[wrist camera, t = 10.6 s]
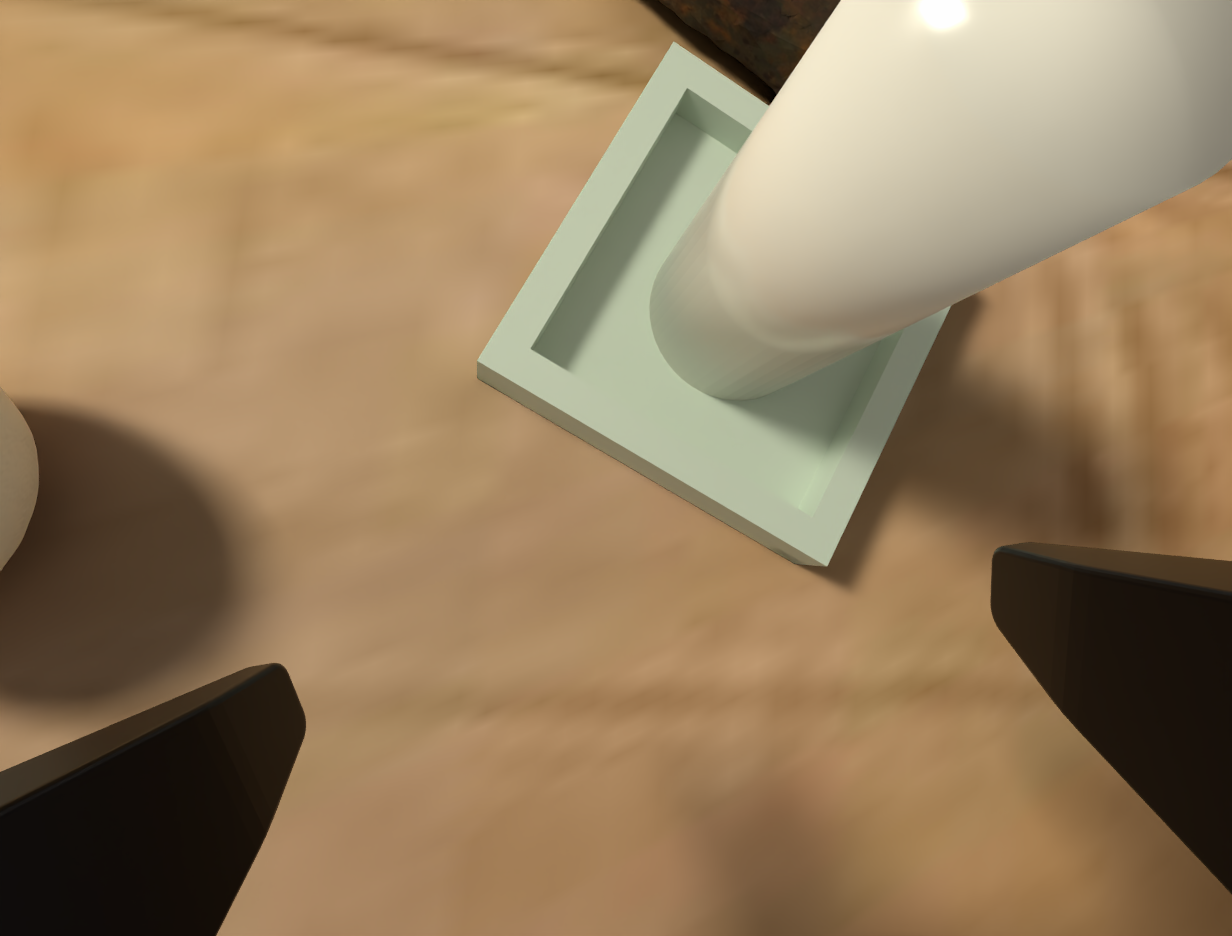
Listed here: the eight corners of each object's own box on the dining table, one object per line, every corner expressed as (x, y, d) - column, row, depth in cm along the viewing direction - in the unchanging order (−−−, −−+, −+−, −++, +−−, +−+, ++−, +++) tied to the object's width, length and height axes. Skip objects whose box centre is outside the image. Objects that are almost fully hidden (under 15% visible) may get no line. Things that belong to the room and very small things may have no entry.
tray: (794, 563, 21) (827, 566, 19) (477, 378, 20) (476, 360, 18) (936, 272, 23) (978, 247, 21) (656, 86, 22) (673, 41, 20)
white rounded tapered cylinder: (824, 395, 21) (1303, 199, 9) (659, 405, 20) (943, 200, 8) (803, 229, 21) (1235, -178, 9) (640, 232, 20) (883, -224, 8)
